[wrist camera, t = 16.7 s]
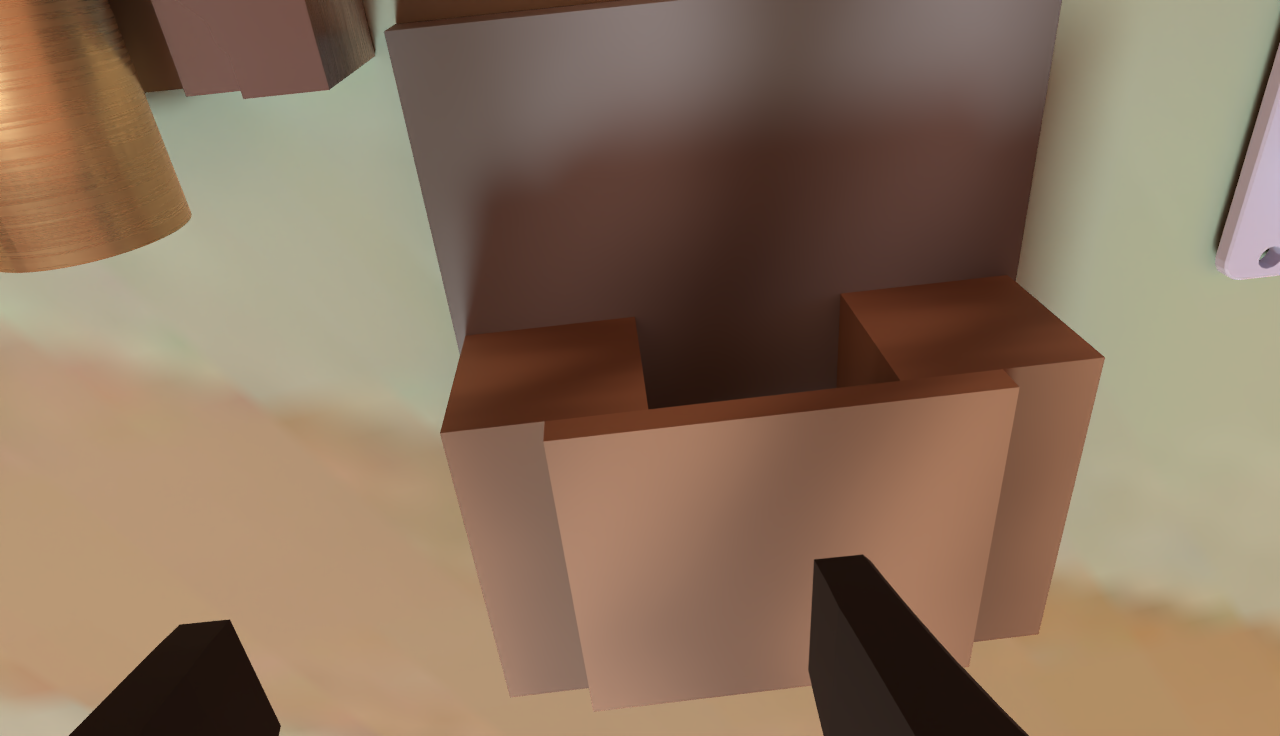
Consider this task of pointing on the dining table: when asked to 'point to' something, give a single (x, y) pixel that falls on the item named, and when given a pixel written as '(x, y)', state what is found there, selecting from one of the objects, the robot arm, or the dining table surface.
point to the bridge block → (742, 326)
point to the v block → (243, 44)
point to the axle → (76, 141)
